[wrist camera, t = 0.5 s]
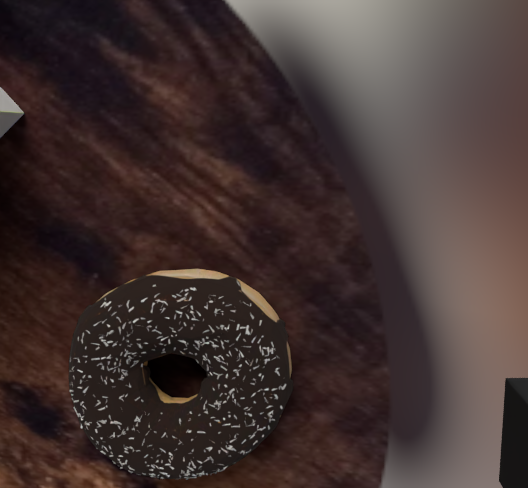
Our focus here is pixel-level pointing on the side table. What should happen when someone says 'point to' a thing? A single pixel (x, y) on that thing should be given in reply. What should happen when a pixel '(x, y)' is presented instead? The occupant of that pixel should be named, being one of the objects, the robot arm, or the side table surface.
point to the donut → (186, 344)
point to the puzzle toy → (8, 112)
